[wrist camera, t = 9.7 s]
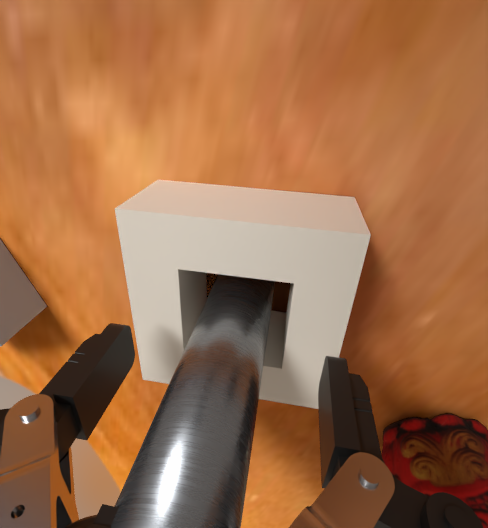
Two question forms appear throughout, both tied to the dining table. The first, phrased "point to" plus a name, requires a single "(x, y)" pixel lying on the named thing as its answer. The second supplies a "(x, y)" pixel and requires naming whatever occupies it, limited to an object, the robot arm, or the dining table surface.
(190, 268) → the white square-hole block
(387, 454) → the red clay folk toy
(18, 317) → the blue-grey square-hole block
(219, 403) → the grey metal peg
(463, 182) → the dining table surface
